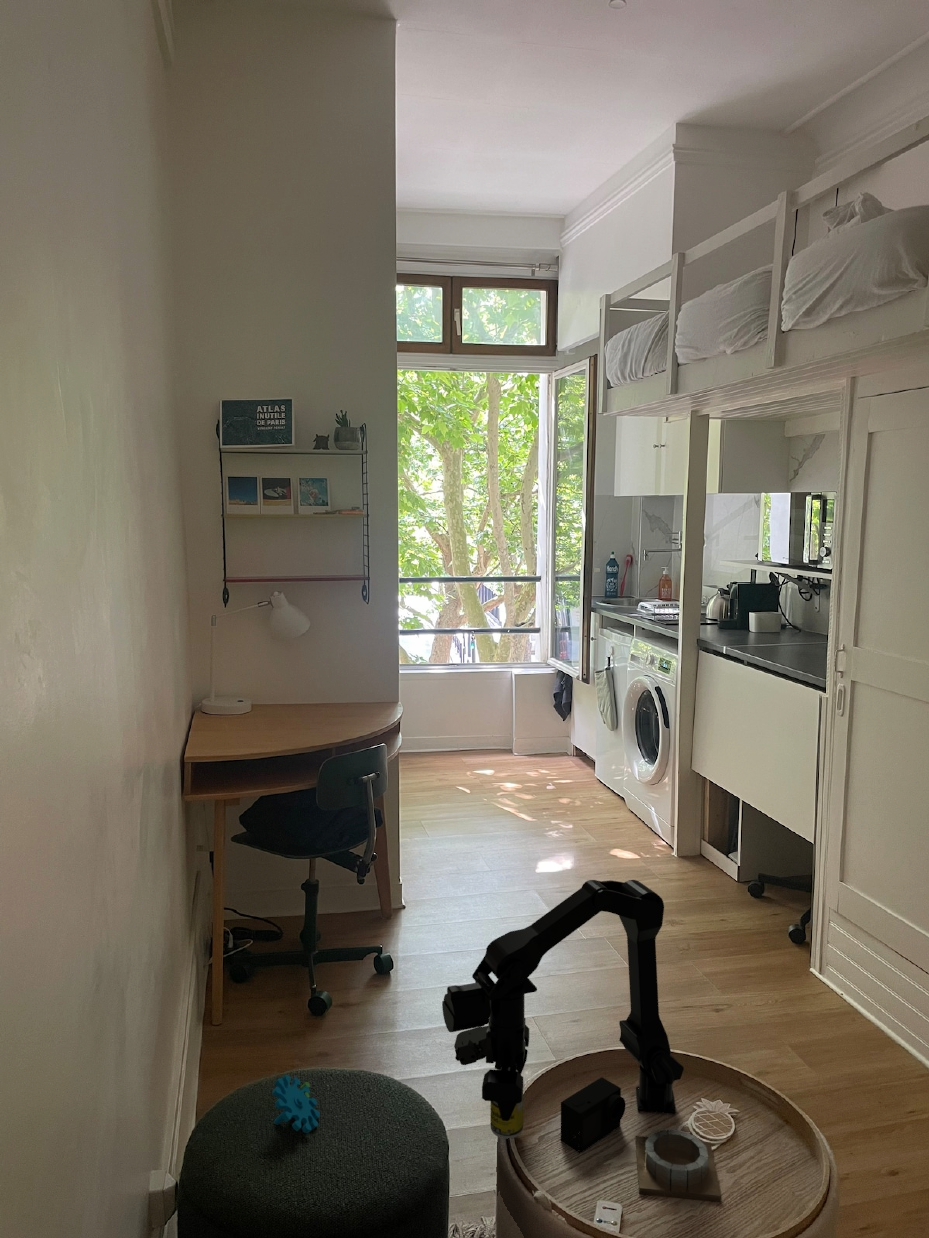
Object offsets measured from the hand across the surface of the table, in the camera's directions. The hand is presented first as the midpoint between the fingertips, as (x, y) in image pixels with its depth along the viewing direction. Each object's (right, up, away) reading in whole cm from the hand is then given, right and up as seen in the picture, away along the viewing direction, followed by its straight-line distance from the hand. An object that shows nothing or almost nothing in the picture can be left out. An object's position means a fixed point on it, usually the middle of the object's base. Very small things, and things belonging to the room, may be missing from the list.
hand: (507, 1108), depth 148 cm
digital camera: (+14, -5, +1) cm, 15 cm away
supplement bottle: (0, -4, 0) cm, 4 cm away
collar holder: (+26, -6, -7) cm, 28 cm away
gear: (-35, -5, +5) cm, 36 cm away
